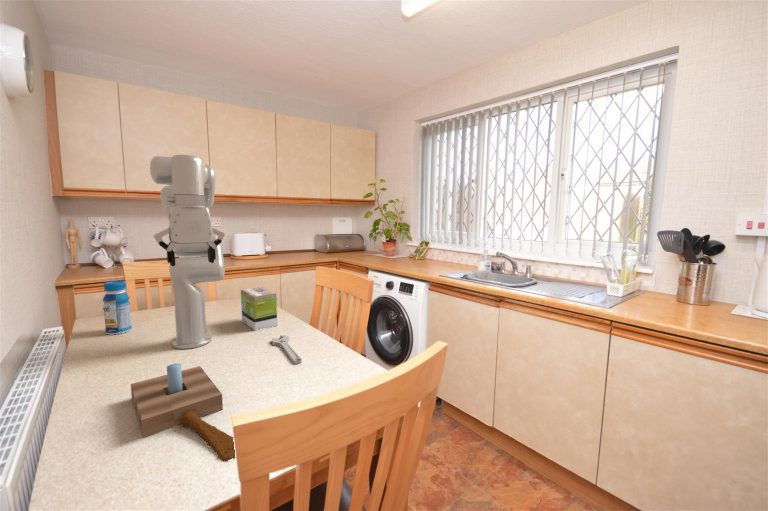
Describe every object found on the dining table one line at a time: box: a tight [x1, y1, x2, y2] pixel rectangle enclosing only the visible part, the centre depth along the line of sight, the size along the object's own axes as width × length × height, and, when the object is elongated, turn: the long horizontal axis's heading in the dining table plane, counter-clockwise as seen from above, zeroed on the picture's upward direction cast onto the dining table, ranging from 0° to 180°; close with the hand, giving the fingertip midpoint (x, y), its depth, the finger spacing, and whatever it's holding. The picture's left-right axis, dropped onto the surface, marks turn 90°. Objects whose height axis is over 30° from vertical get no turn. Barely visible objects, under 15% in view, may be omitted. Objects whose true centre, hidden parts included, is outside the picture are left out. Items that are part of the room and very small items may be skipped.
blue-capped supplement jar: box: [102, 280, 132, 336], centre depth 133 cm, size 8×8×20 cm
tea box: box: [240, 286, 278, 331], centre depth 145 cm, size 15×10×15 cm
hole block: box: [130, 365, 224, 438], centre depth 85 cm, size 20×16×4 cm
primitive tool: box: [180, 411, 236, 462], centre depth 72 cm, size 19×6×4 cm, turn 61°
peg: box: [166, 362, 183, 395], centre depth 84 cm, size 3×3×10 cm
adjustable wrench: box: [271, 334, 303, 365], centre depth 118 cm, size 25×6×2 cm, turn 27°
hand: (192, 263), depth 95 cm, fingers open, 9 cm apart
